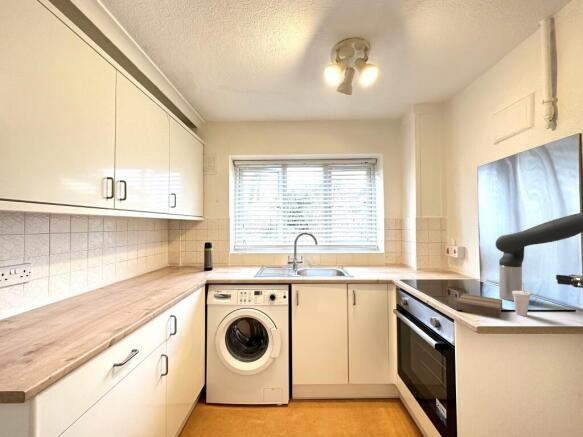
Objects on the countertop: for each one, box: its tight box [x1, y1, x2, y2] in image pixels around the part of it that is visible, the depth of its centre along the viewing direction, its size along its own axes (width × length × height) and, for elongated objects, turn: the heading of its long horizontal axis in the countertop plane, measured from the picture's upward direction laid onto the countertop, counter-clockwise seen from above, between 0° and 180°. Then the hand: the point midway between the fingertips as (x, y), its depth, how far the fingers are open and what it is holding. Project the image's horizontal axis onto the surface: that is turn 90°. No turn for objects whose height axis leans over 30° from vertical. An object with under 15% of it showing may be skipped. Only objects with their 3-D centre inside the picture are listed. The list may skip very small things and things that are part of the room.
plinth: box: [455, 293, 503, 319], centre depth 130 cm, size 16×16×4 cm
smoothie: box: [512, 282, 532, 317], centre depth 123 cm, size 6×6×14 cm
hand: (556, 279), depth 115 cm, fingers open, 8 cm apart
